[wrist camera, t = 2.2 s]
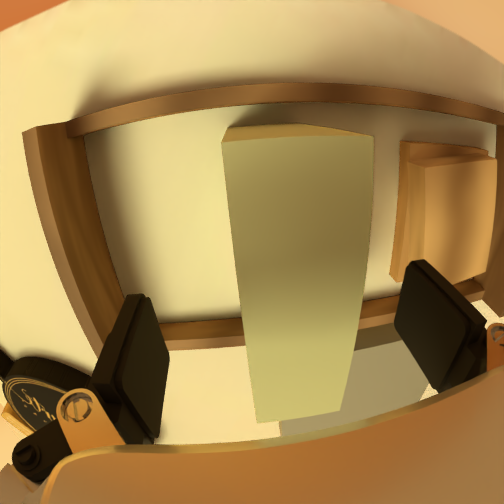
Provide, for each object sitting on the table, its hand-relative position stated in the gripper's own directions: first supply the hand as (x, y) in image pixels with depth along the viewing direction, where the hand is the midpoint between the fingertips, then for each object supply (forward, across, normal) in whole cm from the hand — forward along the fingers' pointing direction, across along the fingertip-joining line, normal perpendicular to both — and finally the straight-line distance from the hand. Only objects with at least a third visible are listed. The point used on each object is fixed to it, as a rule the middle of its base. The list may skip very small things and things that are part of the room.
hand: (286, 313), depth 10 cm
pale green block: (+9, -1, 0) cm, 9 cm away
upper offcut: (+8, -14, 0) cm, 16 cm away
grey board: (+9, -9, +17) cm, 21 cm away
